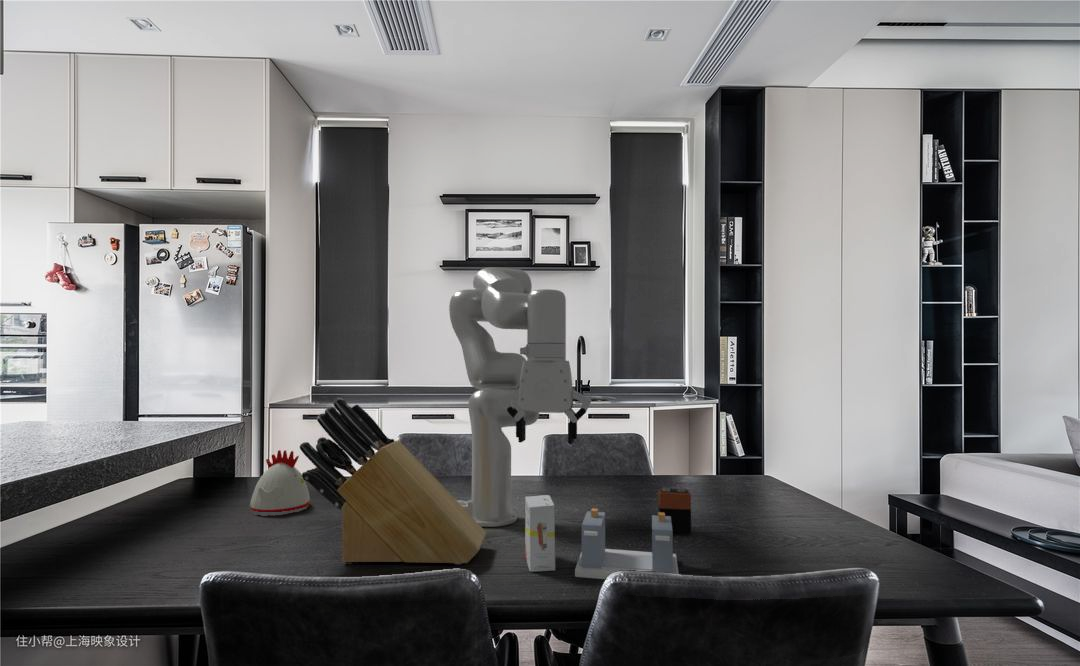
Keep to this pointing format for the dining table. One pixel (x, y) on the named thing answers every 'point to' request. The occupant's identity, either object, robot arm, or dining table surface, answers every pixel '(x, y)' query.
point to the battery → (676, 508)
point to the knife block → (386, 495)
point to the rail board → (607, 561)
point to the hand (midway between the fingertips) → (546, 442)
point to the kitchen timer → (280, 486)
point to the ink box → (539, 533)
